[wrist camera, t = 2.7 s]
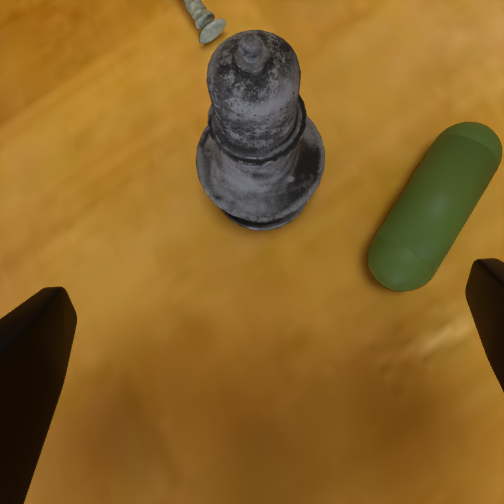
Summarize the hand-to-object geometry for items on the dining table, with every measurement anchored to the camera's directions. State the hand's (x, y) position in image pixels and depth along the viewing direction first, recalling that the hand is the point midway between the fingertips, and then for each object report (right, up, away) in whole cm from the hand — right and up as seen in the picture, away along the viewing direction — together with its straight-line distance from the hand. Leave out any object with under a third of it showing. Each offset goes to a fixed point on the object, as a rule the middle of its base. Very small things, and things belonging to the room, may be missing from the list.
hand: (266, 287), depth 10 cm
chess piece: (0, +5, +14) cm, 14 cm away
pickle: (+9, +3, +13) cm, 16 cm away
